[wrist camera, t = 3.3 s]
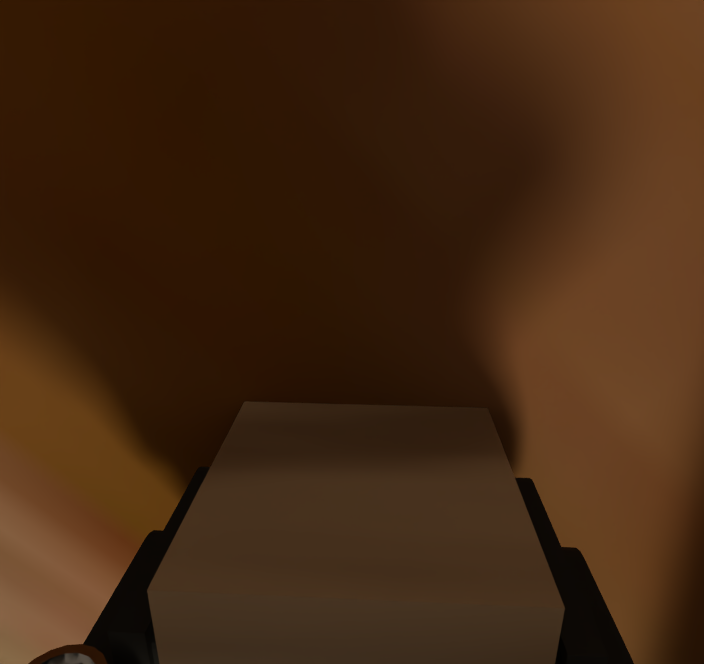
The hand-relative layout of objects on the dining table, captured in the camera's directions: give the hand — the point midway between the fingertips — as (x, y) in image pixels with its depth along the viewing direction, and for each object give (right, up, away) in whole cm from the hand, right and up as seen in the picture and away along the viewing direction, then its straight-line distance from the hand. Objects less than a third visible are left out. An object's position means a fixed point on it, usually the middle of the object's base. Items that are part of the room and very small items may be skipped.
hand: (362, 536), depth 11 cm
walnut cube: (0, 0, +1) cm, 1 cm away
